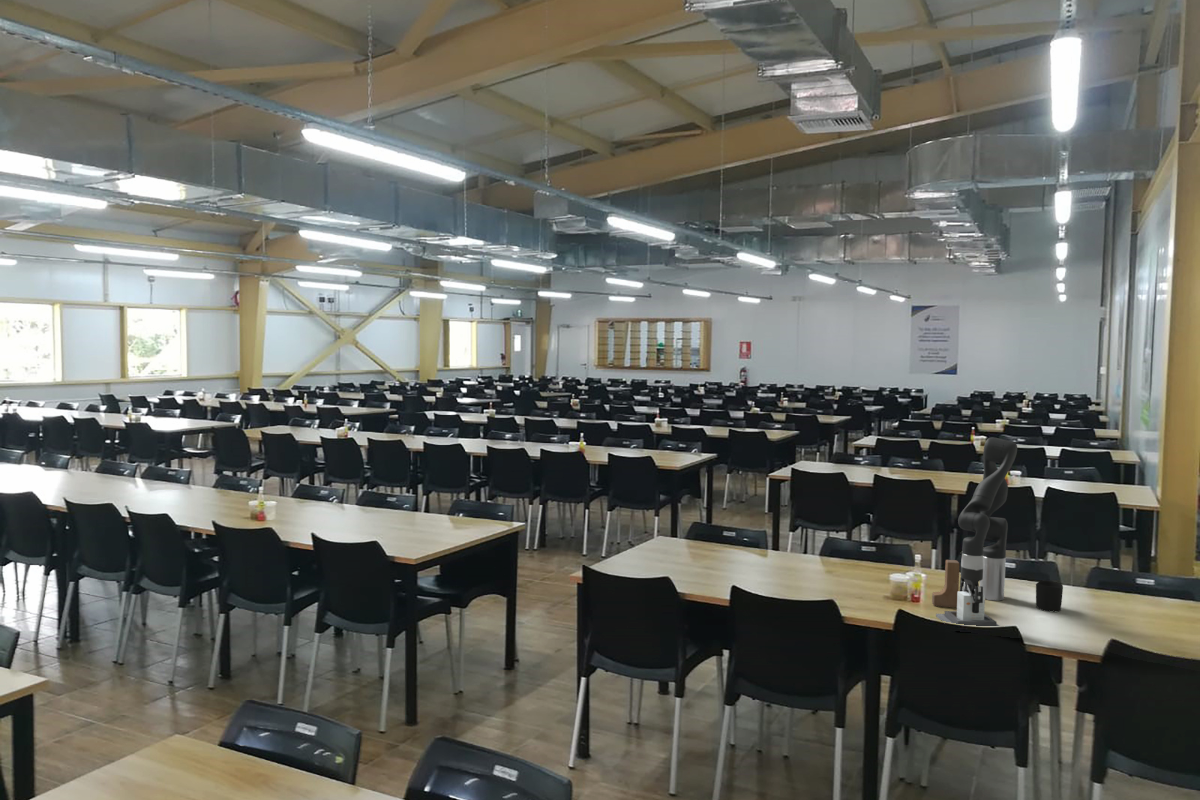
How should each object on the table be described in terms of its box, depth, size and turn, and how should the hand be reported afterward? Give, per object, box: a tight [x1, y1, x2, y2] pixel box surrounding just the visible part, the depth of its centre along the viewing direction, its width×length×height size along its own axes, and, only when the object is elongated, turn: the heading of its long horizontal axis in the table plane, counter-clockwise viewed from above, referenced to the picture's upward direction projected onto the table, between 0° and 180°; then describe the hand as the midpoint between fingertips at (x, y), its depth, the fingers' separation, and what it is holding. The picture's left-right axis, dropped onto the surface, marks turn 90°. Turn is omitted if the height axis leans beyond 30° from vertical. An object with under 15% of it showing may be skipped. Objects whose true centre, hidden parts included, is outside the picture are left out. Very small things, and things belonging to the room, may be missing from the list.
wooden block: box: [931, 559, 961, 609], centre depth 335 cm, size 9×4×18 cm, turn 78°
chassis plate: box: [935, 610, 1000, 626], centre depth 312 cm, size 18×18×3 cm
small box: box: [956, 590, 986, 620], centre depth 312 cm, size 8×6×10 cm
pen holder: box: [1035, 580, 1064, 613], centre depth 333 cm, size 9×9×10 cm
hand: (970, 609), depth 312 cm, fingers open, 8 cm apart
